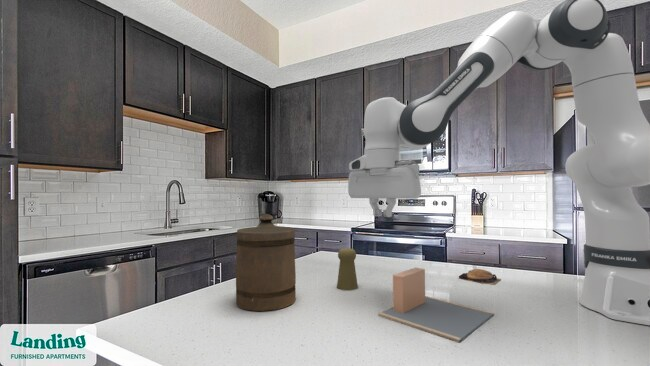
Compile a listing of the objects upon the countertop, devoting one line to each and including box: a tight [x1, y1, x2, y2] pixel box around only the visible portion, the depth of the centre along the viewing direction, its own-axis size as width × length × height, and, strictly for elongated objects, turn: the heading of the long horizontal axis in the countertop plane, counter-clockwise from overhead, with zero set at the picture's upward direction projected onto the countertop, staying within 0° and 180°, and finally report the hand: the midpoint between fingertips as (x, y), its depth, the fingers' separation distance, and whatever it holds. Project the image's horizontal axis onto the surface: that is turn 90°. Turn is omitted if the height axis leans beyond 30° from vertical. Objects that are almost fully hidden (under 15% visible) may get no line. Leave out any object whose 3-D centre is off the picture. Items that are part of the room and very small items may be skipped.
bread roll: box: [458, 268, 502, 286], centre depth 99 cm, size 11×9×4 cm
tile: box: [392, 267, 426, 313], centre depth 76 cm, size 2×10×8 cm, turn 135°
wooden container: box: [235, 213, 297, 312], centre depth 81 cm, size 15×15×22 cm
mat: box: [377, 295, 495, 343], centre depth 71 cm, size 18×18×1 cm
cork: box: [336, 247, 359, 291], centre depth 92 cm, size 6×6×11 cm
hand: (382, 216), depth 81 cm, fingers closed
